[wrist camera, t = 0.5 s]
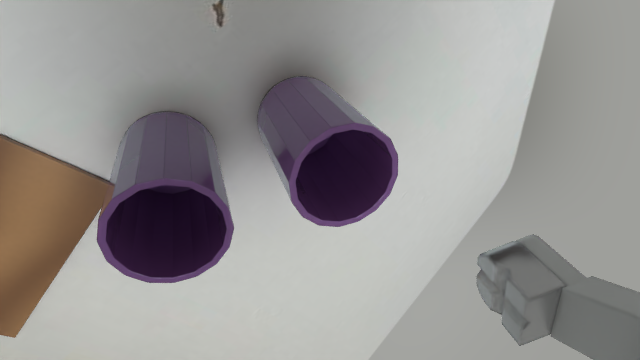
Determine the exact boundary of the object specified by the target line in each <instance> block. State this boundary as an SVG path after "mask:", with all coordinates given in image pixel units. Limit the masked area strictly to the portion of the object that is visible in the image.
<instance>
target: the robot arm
mask: <svg viewBox="0 0 640 360" xmlns="http://www.w3.org/2000/svg"><path fill="white" fill-rule="evenodd" d="M477 264H478V266H479V267H480V268H481V270H480V272H479V273H478V275H477V287H478V290H479V293H480V295H481V297H482V299H483V300H484V302H485V303H486V305H487V306H488V307H489V308H490V310H492V311H494V312H497V313H499V314H501V315H502V325H503V326H504V327H505V328H506V330H507V331H508V332H509V333H510V335H511V336H512V337H513V338H514V340H515V341H516V342H517V343H518V345H519V346H521V345H524V344H526V343H529V342H532V341H534V340H537V339H539V338H542V337H545V336H547V335H550V334H551V337H553V338H555V339H556V340H558V341H560V342H562V343H564V344H566V345H568V346H569V347H571V348H573V349H575V350H577V351H578V352H581V353H582V354H584V355H586V356H588V357H590V358H591V359H593V360H640V292H637V291H634V290H631V289H628V288H625V287H622V286H619V285H616V284H613V283H611V282H608V281H605V280H602V279H599V278H596V277H593V276H591V277H589V278H586V277H585V276H584V275H583V274H582V273H580V272H579V271H578V270H577V269H576V268H574V267H573V266H572V265H571V264H570V263H569V262H567V261H566V260H565V259H564V258H563V257H562V256H560V255H559V254H558V253H557V252H556V251H555V250H554V249H552V248H551V247H550V246H549V245H548V244H547V243H545V242H544V241H543V240H542V239H541V238H540V237H539V236H536V235H534V234H532V235H529V236H526V237H524V238H521V239H519V240H516V241H512V242H509V243H507V244H504V245H502V246H499V247H497V248H494V249H492V250H489V251H487V252H484V253H482V254H480V255H479V256H478V260H477Z"/></svg>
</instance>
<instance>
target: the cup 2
mask: <svg viewBox="0 0 640 360" xmlns="http://www.w3.org/2000/svg"><path fill="white" fill-rule="evenodd" d="M257 122H258V129H259V133H260V136H261V139H262V141H263V143H264V145H265V147H266V149H267V152H268V154H269V156H270V158H271V160H272V162H273V164H274V166H275V168H276V170H277V172H278V175H279V177H280V179H281V181H282V183H283V185H284V187H285V189H286V191H287V193H288V195H289V197H290V200H291V202H292V203H293V205H294V206H295V207H296V209H297V210H298V212H299V213H300V214H301V216H302V217H304V218H306V219H308V220H310V221H311V222H313V223H315V224H317V225H320V226H333V227H338V226H339V227H340V226H344V225H347V224H351V223H355V222H358V221H360V220H362V219H363V218H365V217H366V216H368V215H369V214H371V213H372V212H374V211H376V210H377V209H378V207H379V206H380V205H381V204H382V203H383V202H384V200H385V199H386V198H387V197H388V196H389V195H390V193H391V190H392V188H393V186H394V183H395V181H396V178H397V175H398V154H397V152H396V150H395V148H394V145H393V143H392V141H391V139H390V138H389V137H388V136H387V135H386V134H385V133H383V132H382V131H381V130H380V129H379V128H377V127H376V126H375V125H374V124H373V123H371V122H370V121H369V120H368V119H367V118H366V117H364V116H363V115H362V114H361V113H360V112H358V111H357V110H356V109H355V108H354V107H353V106H351V105H350V104H349V103H348V102H347V101H345V100H344V99H343V98H342V97H341V96H340V95H338V94H337V93H336V92H335V91H334V90H332V89H331V88H330V87H329V86H327V85H326V84H325V83H323V82H322V81H320V80H318V79H315V78H312V77H307V76H298V77H292V78H289V79H286V80H284V81H282V82H280V83H278V84H277V85H275V86H274V87H273V88H272V89H271V90H270V91H269V92H268V93H267V94H266V96H265V97H264V99H263V101H262V103H261V105H260V108H259V111H258V121H257Z"/></svg>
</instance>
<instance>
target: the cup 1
mask: <svg viewBox="0 0 640 360" xmlns="http://www.w3.org/2000/svg"><path fill="white" fill-rule="evenodd" d="M233 231H234V225H233V220H232V216H231V212H230V207H229V203H228V198H227V194H226V189H225V185H224V180H223V176H222V171H221V167H220V162H219V158H218V153H217V149H216V145H215V141H214V139H213V137H212V135H211V134H210V132H209V131H208V130H207V129H206V128H205V126H203V125H202V124H201V123H200V122H198V121H197V120H195V119H194V118H192V117H190V116H187V115H184V114H181V113H177V112H157V113H153V114H149V115H147V116H144V117H142V118H141V119H139V120H137V121H136V122H135V123H133V124H132V125H131V126H130V127H129V129H128V130H127V131H126V133H125V134H124V136H123V139H122V141H121V142H120V145H119V149H118V152H117V156H116V159H115V163H114V166H113V170H112V173H111V177H110V180H109V184H108V187H107V191H106V194H105V198H104V202H103V205H102V209H101V212H100V216H99V219H98V231H97V243H98V245H99V247H100V249H101V251H102V253H103V255H104V257H105V259H106V261H107V262H109V263H110V264H111V265H112V266H114V267H115V268H116V269H117V270H119V271H120V272H121V273H123V274H124V275H126V276H129V277H132V278H135V279H138V280H141V281H145V282H149V283H173V282H174V283H175V282H179V281H182V280H186V279H189V278H193V277H196V276H198V275H200V274H202V273H203V272H205V271H206V270H208V269H209V268H211V267H213V266H214V265H216V264H217V263H218V261H219V260H220V259H221V258H222V256H223V255H224V254H225V252H226V251H227V250H228V248H229V247H230V243H231V239H232V235H233Z"/></svg>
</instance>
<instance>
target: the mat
mask: <svg viewBox="0 0 640 360" xmlns="http://www.w3.org/2000/svg"><path fill="white" fill-rule="evenodd" d="M108 184H109V182H108V181H106V180H104V179H102V178H99V177H97V176H95V175H92V174H90V173H88V172H85V171H83V170H81V169H79V168H76V167H74V166H72V165H69V164H67V163H65V162H62V161H60V160H58V159H55V158H53V157H51V156H49V155H46V154H44V153H42V152H39V151H37V150H35V149H32V148H30V147H28V146H25V145H23V144H21V143H19V142H16V141H14V140H12V139H9V138H7V137H5V136H2V135H0V335H4V336H9V337H14V338H15V337H16V335H17V334H18V332H19V331H20V329H21V328H22V326H23V325H24V323H25V322H26V320H27V319H28V317H29V316H30V314H31V313H32V311H33V310H34V308H35V307H36V305H37V304H38V302H39V301H40V299H41V298H42V296H43V295H44V293H45V292H46V290H47V289H48V287H49V286H50V284H51V283H52V281H53V279H54V278H55V276H56V275H57V273H58V272H59V270H60V269H61V267H62V266H63V264H64V263H65V261H66V260H67V258H68V257H69V255H70V254H71V252H72V251H73V249H74V248H75V246H76V245H77V243H78V242H79V240H80V239H81V237H82V236H83V234H84V233H85V231H86V230H87V228H88V227H89V225H90V224H91V222H92V221H93V219H94V217H95V216H96V214H97V213H98V211H99V210H100V208H101V207H102V205H103V202H104V198H105V194H106V191H107V187H108Z"/></svg>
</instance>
